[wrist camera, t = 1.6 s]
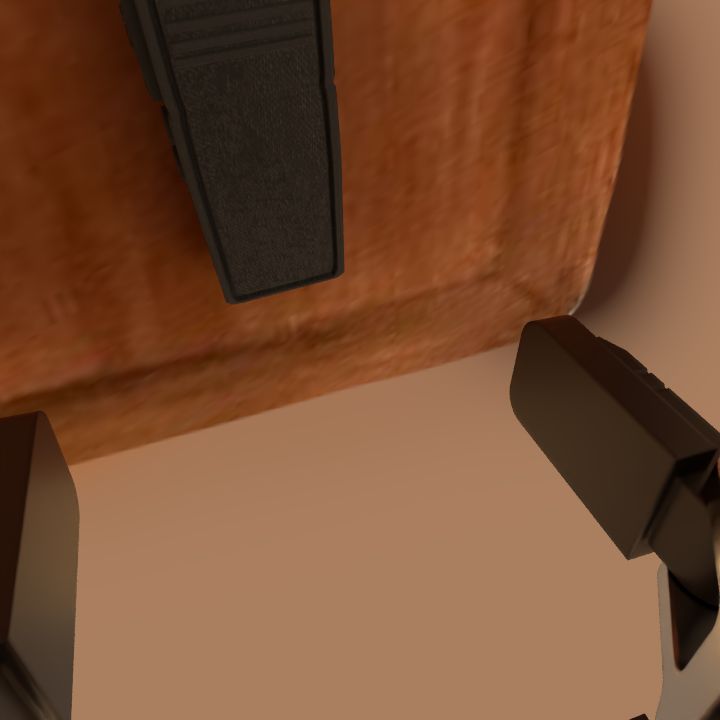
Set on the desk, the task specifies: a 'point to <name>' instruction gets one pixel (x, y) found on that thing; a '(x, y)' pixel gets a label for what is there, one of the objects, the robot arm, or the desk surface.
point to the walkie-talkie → (251, 132)
